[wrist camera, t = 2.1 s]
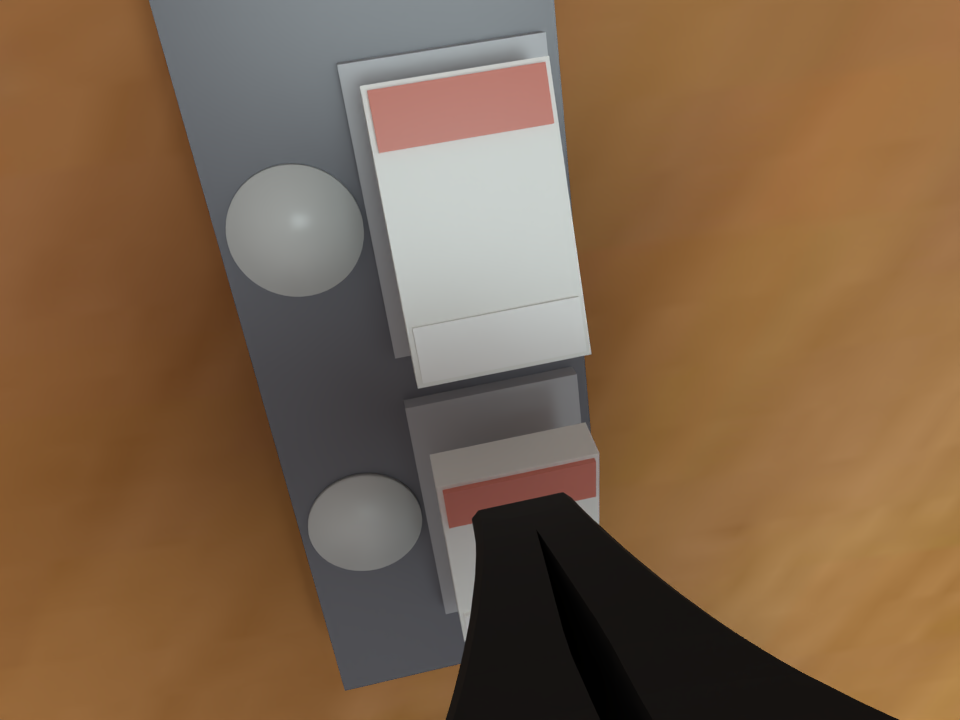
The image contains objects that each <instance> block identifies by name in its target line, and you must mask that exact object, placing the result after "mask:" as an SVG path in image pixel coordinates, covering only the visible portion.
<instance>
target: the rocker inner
mask: <svg viewBox="0 0 960 720" xmlns="http://www.w3.org/2000/svg"><path fill="white" fill-rule="evenodd" d="M430 460H431V466H432V471H433V477H434V482H435V488H436V493H437V499H438V504H439V510H440V515H441V521H442V526H443V531H444V537H445V542H446V548H447V553H448V559H449V564H450V570H451V575H452V581H453V586H454V592H455V597H456V603H457V608H458V613H459V618H460V623H461V627H462V632H463V637H464V642H465V640H466V636H467V631H468V626H469V620H470V614H471V605H472V597H473V589H474V580H475V564H476V542H475V536H474V530H473V524H472V518H473V516H474V515H475V514H476V513H477V511H478V510H482V509H487V508H491V507H496V506H501V505H505V504H510V503H514V502H519V501H524V500H528V499H533V498H538V497H542V496H547V495H552V494H556V493H561V492H564V493H565V494H567V495H568V496H570V497H571V498H572V499H573V500H574V501H575V502H576V503H577V504H578V505H579V506H580V507H581V508H582V509H583V510H584V511H585V512H586V513H587V514H588V515H589V516H590V517H591V518H592V519H593V520H594V521H596V522H597V523H598V524H599V451H598V449H597V447H596V445H595V442H594V440H593V438H592V436H591V433H590V431H589V429H588V427H587V425H586V422H585V423H580V424H575V425H570V426H565V427H560V428H556V429H551V430H546V431H541V432H536V433H532V434H527V435H522V436H517V437H512V438H507V439H503V440H498V441H493V442H488V443H483V444H479V445H474V446H469V447H464V448H459V449H454V450H450V451H445V452H440V453H435V454H430Z"/></svg>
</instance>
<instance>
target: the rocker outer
mask: <svg viewBox="0 0 960 720" xmlns="http://www.w3.org/2000/svg"><path fill="white" fill-rule="evenodd" d="M360 95H361V100H362V105H363V110H364V115H365V121H366V126H367V131H368V136H369V141H370V147H371V152H372V157H373V162H374V167H375V172H376V178H377V183H378V188H379V193H380V198H381V204H382V209H383V214H384V219H385V224H386V229H387V235H388V240H389V245H390V250H391V255H392V261H393V266H394V271H395V276H396V281H397V286H398V292H399V297H400V302H401V307H402V312H403V318H404V323H405V328H406V333H407V338H408V343H409V349H410V354H411V359H412V364H413V369H414V375H415V379H416V383H417V386H418V389H419V388H424V387H429V386H434V385H439V384H444V383H449V382H454V381H459V380H464V379H469V378H474V377H479V376H484V375H489V374H494V373H500V372H505V371H510V370H515V369H520V368H525V367H530V366H535V365H540V364H545V363H550V362H555V361H560V360H565V359H570V358H575V357H580V356H585V355H590V354H591V348H590V341H589V333H588V326H587V319H586V312H585V305H584V298H583V291H582V284H581V277H580V270H579V263H578V256H577V249H576V242H575V235H574V228H573V221H572V214H571V207H570V200H569V193H568V186H567V178H566V171H565V164H564V157H563V150H562V143H561V136H560V129H559V122H558V115H557V108H556V101H555V94H554V87H553V80H552V73H551V66H550V59H549V56H543V57H537V58H531V59H524V60H518V61H512V62H506V63H500V64H493V65H487V66H481V67H475V68H468V69H462V70H456V71H450V72H444V73H437V74H431V75H425V76H419V77H412V78H406V79H400V80H394V81H388V82H381V83H375V84H369V85H363V86H360Z"/></svg>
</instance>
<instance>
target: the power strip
mask: <svg viewBox="0 0 960 720" xmlns="http://www.w3.org/2000/svg"><path fill="white" fill-rule="evenodd" d="M149 2H150V6H151V10H152V13H153V17H154V20H155V24H156V27H157V31H158V34H159V38H160V41H161V45H162V48H163V52H164V55H165V59H166V62H167V66H168V69H169V73H170V76H171V80H172V83H173V87H174V90H175V94H176V98H177V101H178V105H179V108H180V112H181V115H182V119H183V122H184V126H185V129H186V133H187V136H188V140H189V143H190V147H191V150H192V154H193V157H194V161H195V164H196V168H197V171H198V175H199V178H200V182H201V185H202V189H203V193H204V196H205V200H206V203H207V207H208V210H209V214H210V217H211V221H212V224H213V228H214V231H215V235H216V238H217V242H218V245H219V249H220V252H221V256H222V259H223V263H224V266H225V270H226V273H227V277H228V281H229V284H230V288H231V291H232V295H233V298H234V302H235V305H236V309H237V312H238V316H239V319H240V323H241V326H242V330H243V333H244V337H245V340H246V344H247V347H248V351H249V354H250V358H251V361H252V365H253V368H254V372H255V376H256V379H257V383H258V386H259V390H260V393H261V397H262V400H263V404H264V407H265V411H266V414H267V418H268V421H269V425H270V428H271V432H272V435H273V439H274V442H275V446H276V449H277V453H278V456H279V460H280V464H281V467H282V471H283V474H284V478H285V481H286V485H287V488H288V492H289V495H290V499H291V502H292V506H293V509H294V513H295V516H296V520H297V523H298V527H299V530H300V534H301V537H302V541H303V544H304V548H305V551H306V555H307V559H308V562H309V566H310V569H311V573H312V576H313V580H314V583H315V587H316V590H317V594H318V597H319V601H320V604H321V608H322V611H323V615H324V618H325V622H326V625H327V629H328V632H329V636H330V639H331V643H332V647H333V650H334V654H335V657H336V661H337V664H338V668H339V671H340V675H341V678H342V682H343V685H344V689H345V691H346V690H350V689H354V688H359V687H363V686H367V685H372V684H376V683H380V682H384V681H389V680H393V679H397V678H401V677H406V676H410V675H414V674H418V673H423V672H427V671H431V670H436V669H440V668H444V667H448V666H453V665H457V664H461V660H462V655H463V650H464V645H465V642H464V637H463V632H462V627H461V623H460V618H459V613H458V608H457V603H456V597H455V592H454V586H453V581H452V575H451V570H450V564H449V559H448V553H447V548H446V542H445V537H444V531H443V526H442V521H441V515H440V510H439V504H438V499H437V493H436V488H435V482H434V477H433V471H432V466H431V460H430V454H435V453H440V452H445V451H450V450H454V449H459V448H464V447H469V446H474V445H479V444H483V443H488V442H493V441H498V440H503V439H507V438H512V437H517V436H522V435H527V434H532V433H536V432H541V431H546V430H551V429H556V428H560V427H565V426H570V425H575V424H580V423H585V422H586V425H587V427H588V429H589V431H590V433H591V430H590V418H589V406H588V394H587V383H586V371H585V359H584V356H580V357H575V358H570V359H565V360H560V361H555V362H550V363H545V364H540V365H535V366H530V367H525V368H520V369H515V370H510V371H505V372H500V373H494V374H489V375H484V376H479V377H474V378H469V379H464V380H459V381H454V382H449V383H444V384H439V385H434V386H429V387H424V388H419V389H418V386H417V383H416V379H415V375H414V369H413V364H412V359H411V354H410V349H409V343H408V338H407V333H406V328H405V323H404V318H403V312H402V307H401V302H400V297H399V292H398V286H397V281H396V276H395V271H394V266H393V261H392V255H391V250H390V245H389V240H388V235H387V229H386V224H385V219H384V214H383V209H382V204H381V198H380V193H379V188H378V183H377V178H376V172H375V167H374V162H373V157H372V152H371V147H370V141H369V136H368V131H367V126H366V121H365V115H364V110H363V105H362V100H361V95H360V86H363V85H369V84H375V83H381V82H388V81H394V80H400V79H406V78H412V77H419V76H425V75H431V74H437V73H444V72H450V71H456V70H462V69H468V68H475V67H481V66H487V65H493V64H500V63H506V62H512V61H518V60H524V59H531V58H537V57H543V56H549V59H550V66H551V73H552V80H553V87H554V94H555V101H556V108H557V115H558V122H559V129H560V136H561V143H562V150H563V157H564V164H565V171H566V178H567V186H568V193H569V200H570V207H571V195H570V183H569V172H568V160H567V148H566V136H565V125H564V113H563V101H562V90H561V78H560V66H559V54H558V43H557V31H556V19H555V7H554V0H149ZM571 214H572V207H571ZM572 221H573V218H572Z"/></svg>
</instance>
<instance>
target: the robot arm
mask: <svg viewBox="0 0 960 720" xmlns="http://www.w3.org/2000/svg"><path fill="white" fill-rule="evenodd" d="M472 524H473V530H474V536H475V542H476V564H475V580H474V589H473V597H472V605H471V614H470V620H469V626H468V631H467V636H466V640H465V645H464V650H463V655H462V660H461V665H460V669H459V674H458V678H457V681H456V685H455V689H454V693H453V697H452V700H451V704H450V707H449V711H448V714H447V717H446V720H899V719H896V718H894V717H892V716H889V715H887V714H885V713H883V712H881V711H879V710H876V709H874V708H872V707H870V706H868V705H866V704H863V703H861V702H859V701H857V700H855V699H853V698H851V697H850V696H848V695H846V694H844V693H842V692H840V691H838V690H836V689H834V688H832V687H830V686H828V685H826V684H824V683H822V682H820V681H818V680H816V679H814V678H812V677H810V676H808V675H806V674H804V673H802V672H800V671H798V670H797V669H795V668H793V667H791V666H789V665H788V664H786V663H784V662H782V661H781V660H779V659H777V658H775V657H774V656H772V655H770V654H769V653H767V652H766V651H764V650H762V649H761V648H759V647H757V646H756V645H754V644H753V643H751V642H749V641H748V640H746V639H744V638H743V637H741V636H740V635H738V634H737V633H735V632H734V631H732V630H731V629H729V628H728V627H726V626H725V625H723V624H722V623H720V622H719V621H717V620H716V619H715V618H713V617H712V616H710V615H709V614H707V613H706V612H705V611H703V610H702V609H701V608H699V607H698V606H696V605H695V604H694V603H692V602H691V601H690V600H688V599H687V598H685V597H684V596H683V595H681V594H680V593H679V592H678V591H676V590H675V589H674V588H672V587H671V586H670V585H668V584H667V583H666V582H665V581H663V580H662V579H661V578H660V577H658V576H657V575H656V574H655V573H654V572H652V571H651V570H650V569H649V568H648V567H646V566H645V565H644V564H643V563H642V562H640V561H639V560H638V559H637V558H635V557H634V556H633V555H632V554H631V553H630V552H628V551H627V550H626V549H625V548H624V547H623V546H622V545H620V544H619V543H618V542H617V541H616V540H615V539H614V538H613V537H612V536H611V535H609V534H608V533H607V532H606V531H605V530H604V529H603V528H602V527H601V526H600V525H599V524H598V523H597V522H596V521H594V520H593V519H592V518H591V517H590V516H589V515H588V514H587V513H586V512H585V511H584V510H583V509H582V508H581V507H580V506H579V505H578V504H577V503H576V502H575V501H574V500H573V499H572V498H571V497H570V496H568V495H567V494H565V493H564V492H561V493H556V494H552V495H547V496H542V497H538V498H533V499H528V500H524V501H519V502H514V503H510V504H505V505H501V506H496V507H491V508H487V509H482V510H478V511H477V513H476V514H475V515H474V516H473V518H472Z"/></svg>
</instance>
